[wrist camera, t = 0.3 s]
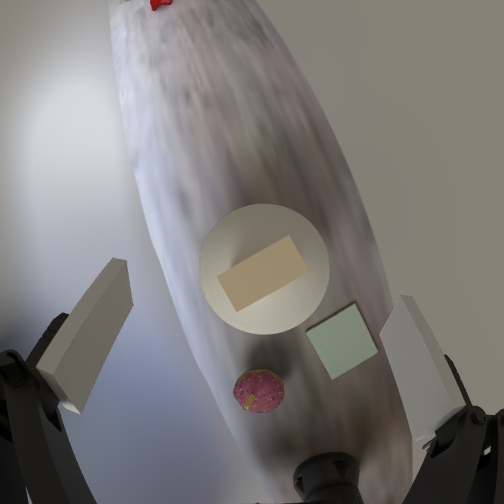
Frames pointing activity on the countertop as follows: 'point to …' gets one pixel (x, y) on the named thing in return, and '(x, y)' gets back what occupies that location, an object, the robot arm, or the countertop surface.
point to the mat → (342, 341)
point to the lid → (264, 268)
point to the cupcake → (259, 390)
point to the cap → (159, 3)
